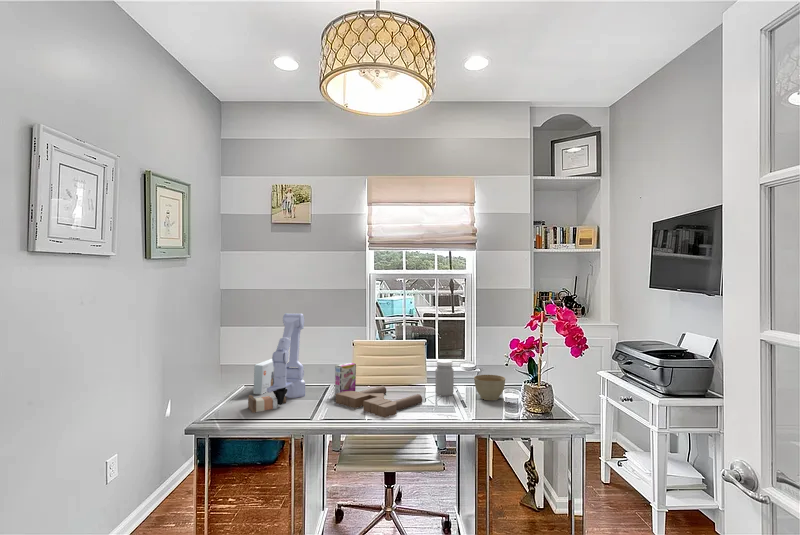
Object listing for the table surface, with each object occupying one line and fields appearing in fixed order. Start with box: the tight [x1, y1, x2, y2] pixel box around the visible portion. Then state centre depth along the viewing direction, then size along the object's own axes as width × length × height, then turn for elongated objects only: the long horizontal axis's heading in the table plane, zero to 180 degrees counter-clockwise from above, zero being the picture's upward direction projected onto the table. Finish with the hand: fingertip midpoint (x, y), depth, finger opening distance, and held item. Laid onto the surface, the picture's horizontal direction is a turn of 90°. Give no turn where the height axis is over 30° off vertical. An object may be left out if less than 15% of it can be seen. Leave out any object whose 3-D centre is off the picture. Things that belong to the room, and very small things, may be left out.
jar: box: [434, 359, 455, 397], centre depth 251 cm, size 10×10×18 cm
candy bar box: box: [334, 362, 357, 397], centre depth 250 cm, size 11×5×16 cm, turn 139°
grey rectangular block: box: [270, 395, 278, 410], centre depth 223 cm, size 2×6×4 cm, turn 30°
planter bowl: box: [473, 374, 506, 401], centre depth 244 cm, size 16×16×11 cm
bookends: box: [335, 385, 423, 418], centre depth 234 cm, size 35×6×29 cm
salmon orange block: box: [260, 395, 274, 411], centre depth 222 cm, size 4×6×5 cm, turn 30°
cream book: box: [254, 397, 265, 413], centre depth 219 cm, size 4×6×5 cm, turn 30°
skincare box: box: [252, 358, 274, 396], centre depth 260 cm, size 21×6×16 cm, turn 168°
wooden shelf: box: [247, 394, 287, 414], centre depth 223 cm, size 18×10×7 cm, turn 120°
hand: (280, 404), depth 224 cm, fingers closed
